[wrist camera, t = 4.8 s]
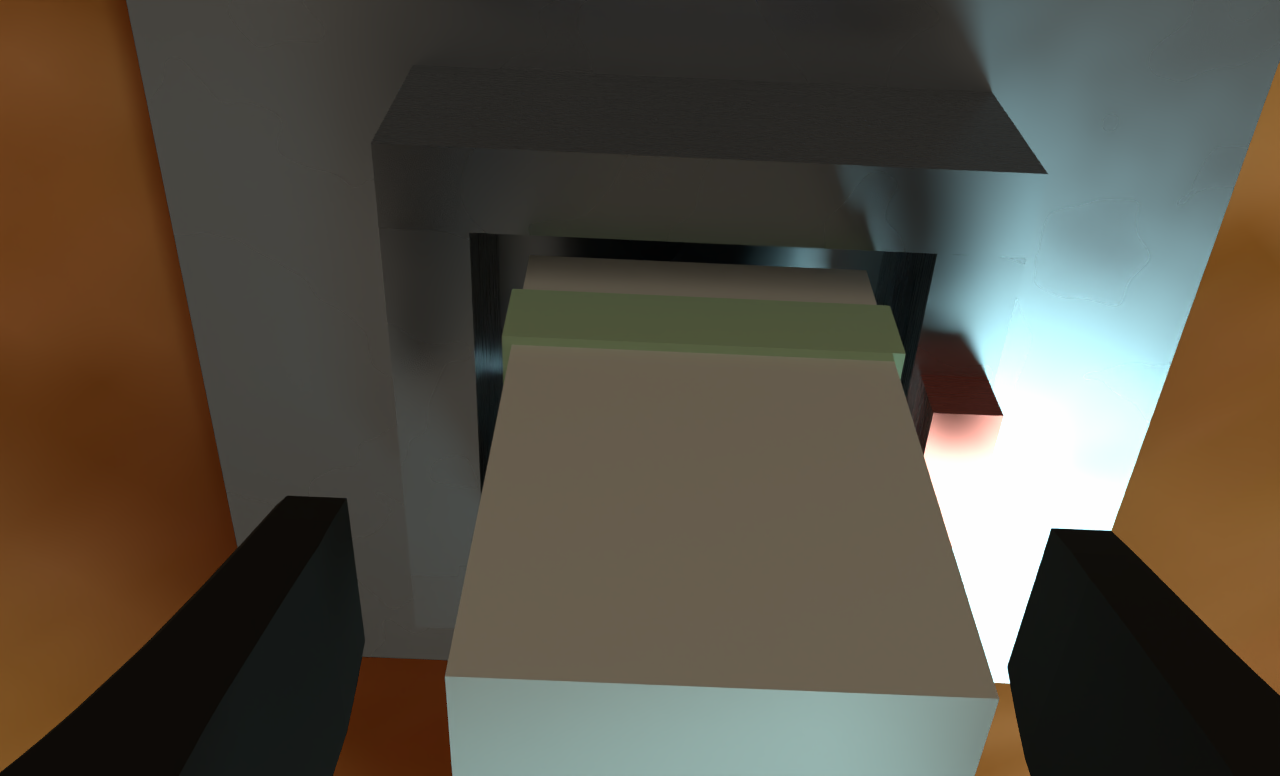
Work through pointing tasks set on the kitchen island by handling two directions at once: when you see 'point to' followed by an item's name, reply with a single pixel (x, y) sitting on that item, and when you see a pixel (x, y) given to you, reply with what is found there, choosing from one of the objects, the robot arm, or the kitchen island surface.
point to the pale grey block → (709, 539)
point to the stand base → (690, 230)
